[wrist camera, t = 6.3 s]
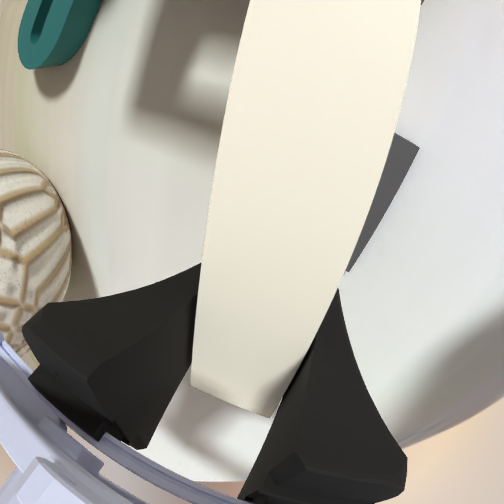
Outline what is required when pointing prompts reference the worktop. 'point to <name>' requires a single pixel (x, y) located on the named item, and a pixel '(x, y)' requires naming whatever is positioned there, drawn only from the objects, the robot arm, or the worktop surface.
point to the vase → (29, 246)
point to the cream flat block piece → (294, 183)
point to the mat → (386, 189)
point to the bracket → (54, 30)
